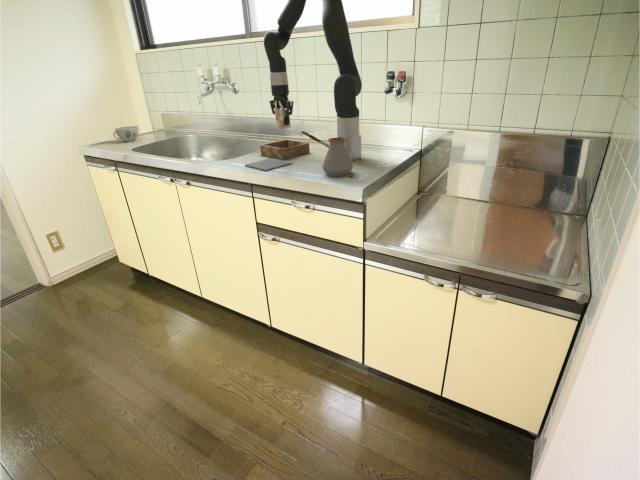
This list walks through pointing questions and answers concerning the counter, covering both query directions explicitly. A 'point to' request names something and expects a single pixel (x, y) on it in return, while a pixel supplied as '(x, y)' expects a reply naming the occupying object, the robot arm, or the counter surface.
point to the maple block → (281, 119)
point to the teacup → (127, 133)
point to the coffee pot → (335, 157)
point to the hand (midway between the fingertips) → (283, 124)
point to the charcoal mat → (268, 164)
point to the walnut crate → (284, 149)
